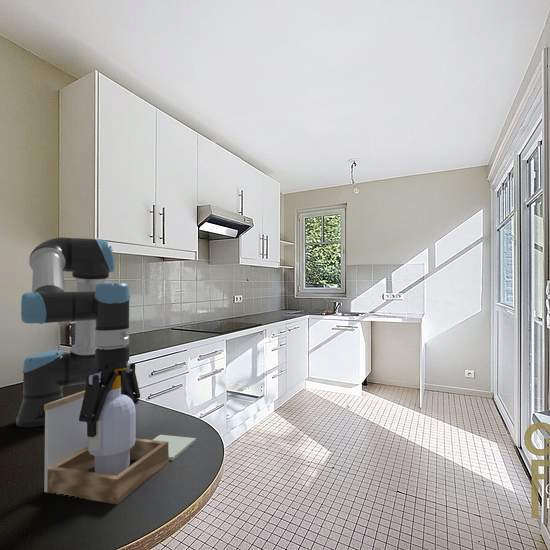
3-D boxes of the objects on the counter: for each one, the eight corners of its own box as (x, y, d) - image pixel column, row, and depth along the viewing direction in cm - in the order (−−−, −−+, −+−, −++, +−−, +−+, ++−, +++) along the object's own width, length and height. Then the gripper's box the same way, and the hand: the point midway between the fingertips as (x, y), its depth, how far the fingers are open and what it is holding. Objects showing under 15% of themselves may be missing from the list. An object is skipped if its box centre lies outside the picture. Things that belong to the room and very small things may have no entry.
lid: (43, 492, 76) (44, 404, 77) (106, 453, 94) (106, 382, 95) (46, 492, 76) (47, 404, 77) (109, 453, 94) (109, 382, 95)
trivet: (133, 455, 93) (133, 452, 93) (160, 437, 104) (160, 434, 104) (173, 460, 89) (173, 457, 89) (196, 441, 101) (195, 438, 101)
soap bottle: (127, 481, 78) (127, 373, 79) (79, 484, 77) (80, 374, 78) (141, 459, 88) (141, 363, 89) (99, 461, 88) (99, 364, 88)
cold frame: (45, 492, 76) (46, 437, 77) (107, 454, 94) (107, 409, 94) (117, 504, 71) (117, 445, 72) (168, 461, 89) (168, 414, 89)
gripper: (87, 356, 72) (87, 464, 71) (154, 339, 94) (154, 422, 93) (59, 354, 74) (58, 460, 73) (131, 339, 96) (131, 420, 95)
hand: (112, 439), depth 83 cm, fingers closed on soap bottle, 10 cm apart
